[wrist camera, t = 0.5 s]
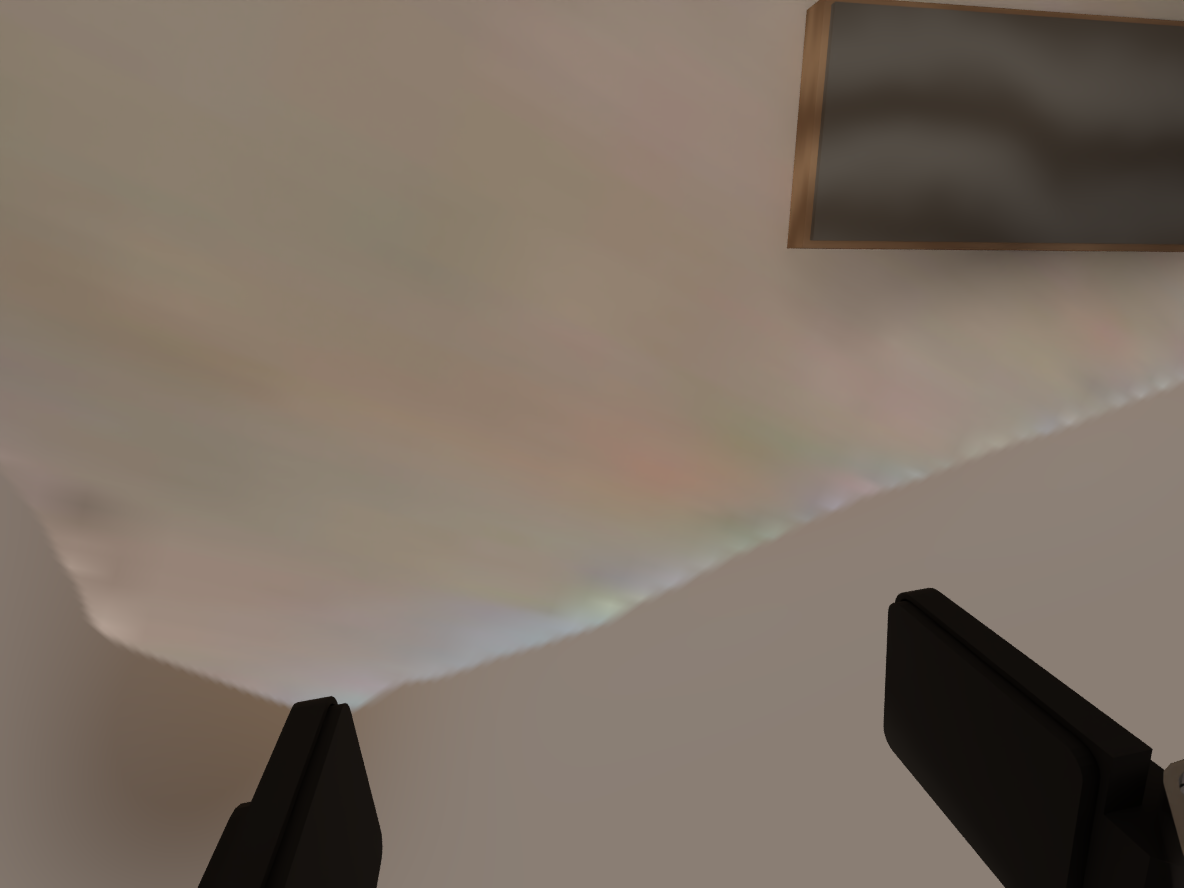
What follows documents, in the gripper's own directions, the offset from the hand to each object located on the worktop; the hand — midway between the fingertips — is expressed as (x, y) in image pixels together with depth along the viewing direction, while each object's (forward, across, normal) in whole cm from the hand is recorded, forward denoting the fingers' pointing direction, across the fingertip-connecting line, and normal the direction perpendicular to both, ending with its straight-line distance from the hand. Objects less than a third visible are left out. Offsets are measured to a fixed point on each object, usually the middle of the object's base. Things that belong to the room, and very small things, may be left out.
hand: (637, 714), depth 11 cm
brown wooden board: (+31, -33, -11) cm, 46 cm away
